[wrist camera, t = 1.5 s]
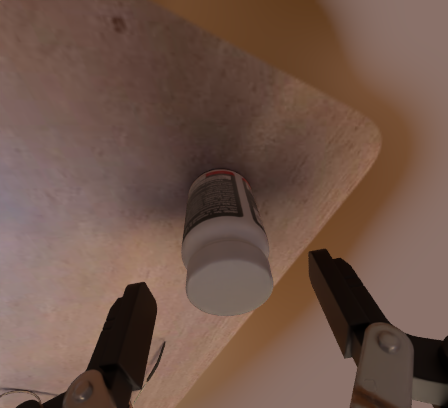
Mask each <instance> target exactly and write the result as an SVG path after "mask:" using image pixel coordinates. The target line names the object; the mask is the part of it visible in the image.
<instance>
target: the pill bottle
mask: <svg viewBox="0 0 448 408" xmlns="http://www.w3.org/2000/svg"><path fill="white" fill-rule="evenodd" d="M268 256H269V243H268V239H267V236H266V233H265V230H264V227H263V224H262V221H261V218H260V215H259V212H258V209H257V205H256V202H255V199H254V196H253V193H252V190H251V187H250V185H249V183H248V182H247V181H246V180H245V179H244V178H243V177H242V176H241V175H239V174H238V173H236V172H233V171H230V170H225V169H217V170H212V171H208V172H206V173H204V174H203V175H201V176H200V177H198V178H197V179H196V180H195V181H194V183H193V184H192V186H191V188H190V190H189V194H188V200H187V210H186V218H185V226H184V234H183V242H182V260H183V263H184V266H185V267H186V269H187V279H186V293H187V296H188V298H189V300H190V302H191V303H192V304H193V305H194V306H195V307H197V308H198V309H200V310H201V311H204V312H206V313H209V314H213V315H218V316H234V315H240V314H244V313H247V312H250V311H252V310H254V309H256V308H258V307H259V306H261V305H262V304H263V303H265V301H266V300H267V299H268V298H269V297H270V295H271V293H272V290H273V279H272V275H271V270H270V265H269V261H268Z"/></svg>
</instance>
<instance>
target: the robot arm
mask: <svg viewBox="0 0 448 408" xmlns="http://www.w3.org/2000/svg"><path fill="white" fill-rule="evenodd" d="M308 256H309V277H310V281H311V284H312V287H313V289H314V291H315V293H316V296H317V298H318V300H319V302H320V305H321V307H322V309H323V311H324V313H325V316H326V318H327V320H328V323H329V325H330V327H331V329H332V331H333V334H334V336H335V338H336V341H337V343H338V345H339V347H340V349H341V352H342V354H343V356H344V358H351V357H353V359H354V361H355V363H356V365H357V373H356V378H355V383H354V388H353V393H352V399H351V403H350V408H411V405H412V399H413V400H417V401H421V402H426V403H430V404H432V405H433V407H434V408H448V336H447V337H446V338H445V339H444V340H443V341H441V340H434V339H428V338H422V337H416V336H412V335H409V334H406V333H404V332H402V331H401V330H400V329H398V328H397V327H395V326H393V325H392V324H391V323H390V322H389V321H388V320H387V319H386V318H385V316H384V314H383V313H382V311H381V310H380V309H379V307H378V305H377V304H376V302H375V301H374V300H373V298H372V296H371V295H370V293H369V292H368V290H367V289H366V288H365V286H363V283H362V282H361V280H360V279H359V278H358V276H357V274H356V273H355V271H354V270H353V269H352V267H351V265H349V264H348V263H346V262H345V261H344V260H343V259H341V258H336V259H332V257H331V256H330V254H329V253H328V251H327V250H326V249H320V250H315V251H310V252H309V255H308ZM156 315H157V304H156V300H155V299H154V297H153V295H152V293H151V292H150V290H149V288H148V287H147V285H146V283H145V282H140V283H135V284H130V285H128V286H127V287H126V289H125V292H124V295H123V297H121V298H118V299H117V300H116V302H115V303H114V304H113V306H112V307H111V308H110V311H109V313H108V316H107V319H106V322H105V324H104V326H103V331H101V334H100V337H99V339H98V342H97V344H96V347H95V350H94V352H93V355H92V357H91V360H90V363H89V365H88V367H87V370H86V371H85V372H84V373H82V374H81V375H79V376H78V377H77V378H76V379H75V380H74V381H73V382H72V383H71V385H70V386H69V388H68V389H67V391H66V392H64V393H62V394H60V395H58V396H56V397H55V398H53V399H51V400H49V401H47V402H45V403H43V404H41V403H39V402H37V401H35V400H28V401H25V402H23V403H22V404H20V405H18V406H17V407H16V408H133V406H132V404H131V402H130V397H131V393H132V391H135V390H141V389H142V385H143V380H144V375H145V370H146V365H147V360H148V355H149V350H150V345H151V340H152V335H153V330H154V325H155V320H156Z"/></svg>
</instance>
